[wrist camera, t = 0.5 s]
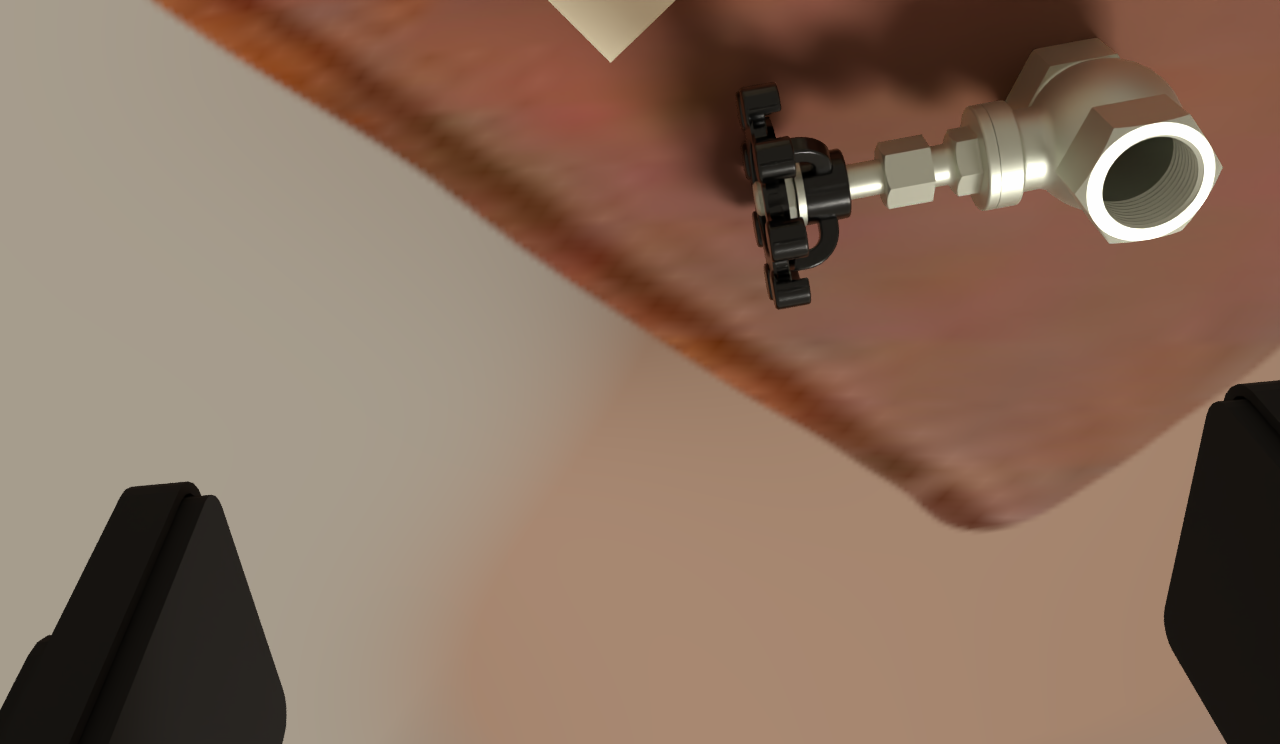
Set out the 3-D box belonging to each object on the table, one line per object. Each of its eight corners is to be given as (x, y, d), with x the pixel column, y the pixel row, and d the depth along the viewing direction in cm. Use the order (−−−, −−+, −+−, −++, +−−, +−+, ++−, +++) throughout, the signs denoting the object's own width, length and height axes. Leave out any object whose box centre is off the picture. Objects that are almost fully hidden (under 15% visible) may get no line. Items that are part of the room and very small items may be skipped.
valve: (1137, -28, 35) (726, 51, 35) (1244, 43, 29) (755, 134, 30) (1127, 181, 38) (754, 248, 39) (1221, 279, 33) (785, 356, 33)
